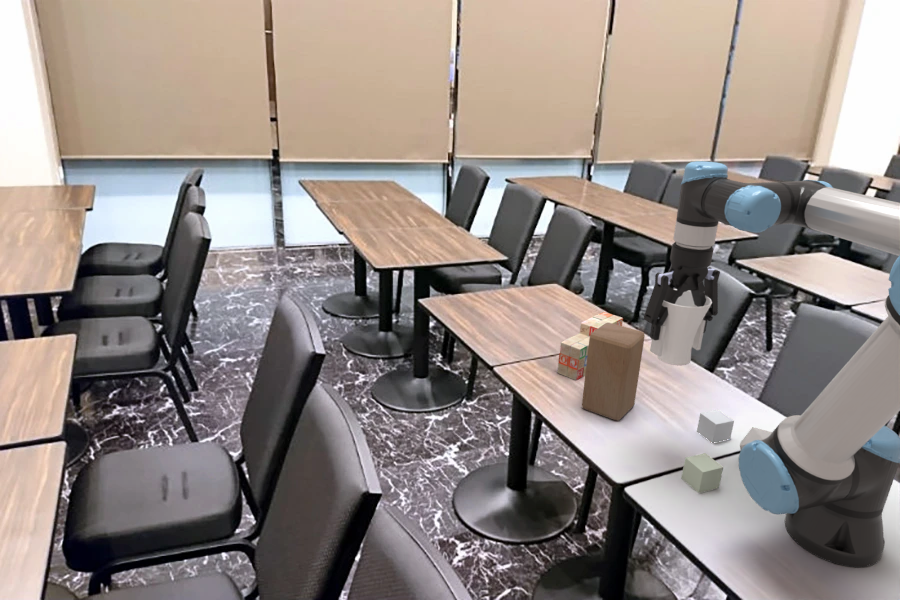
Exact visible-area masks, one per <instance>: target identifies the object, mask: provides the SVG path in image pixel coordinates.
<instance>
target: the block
mask: <svg viewBox="0 0 900 600" xmlns="http://www.w3.org/2000/svg"><path fill="white" fill-rule="evenodd" d="M645 336H646V335H645V332H643V331H641V330H637V329H634V328H630V327H626V326H623V325H622V326H620V325H616V324H612V323H605V324H604V325H602V326H601V327H599V328H598V329H597V330H595V331H594V332H592V333H591V335H590V339H589V347H588V356H587V364H586V373H585V376H584V382H583V389H582V390H583V391H582V398H581V399H582V400H581V408H582V409H584V410H586V411H589V412H591V413H595V414H597V415H600V416H603V417H605V418H609V419H611V420H613V421H620V420H622V418H623V417H624V416H625V415H627V413H629V411H630V410H631V409H632V408H633V407H634V406H635V403H636V396H637V395H636V394H637V389H638V383H639V376H640V370H641V369H640V368H641V363H642V356H643V351H644V341H645V338H646V337H645Z"/></svg>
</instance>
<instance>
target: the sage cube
mask: <svg viewBox="0 0 900 600" xmlns="http://www.w3.org/2000/svg"><path fill="white" fill-rule="evenodd" d="M723 469H724V466H723V465H721V464H720V463H719V462H718V461H716V460H715V459H714V458H712V457H711V456H710V455H709V454H707V453H706V452H705V453H699V454H695V455H692V456H691V455H690V456H687V457H684V464H683V468H682V472H681V479H682V481H684V482H685V483H686V484H687V485H688V486H689V487H691V489H693V490H694V491H696V493H698V494H702V493H705V492H709V491H712V490H716V489H719V488H720V484H721V480H722V475H723V471H724V470H723Z"/></svg>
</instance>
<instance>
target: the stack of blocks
mask: <svg viewBox="0 0 900 600" xmlns="http://www.w3.org/2000/svg"><path fill="white" fill-rule="evenodd" d="M623 320H624V318H623V317H621V316H619V315H615V314H612V313H608V312H606V311H605V312H604V311H603V312H601V313H599V314H596V315H593V316H592V317H589V318H588V319H586V320H584V321H582V322H580V324H579V325H580V326H579V332H578V333H576V334H575V335H573V336H569V337H568V338H567V339H565V340H563V341H561V342H560V346H559V353H558V363H557V373H558V374H560V375H562V376H565V377H567V378H569V379H571V380H574V381H578V380H579V379H580V380H581V378H583V377H584V378H585V373H586V364H587V356H588V347H589V339H590V335H591V333H592V332H594V331H595V330H597V329H598V328H599V327H601V326H602V325H604V324H605V323H612V324H616V325H620V326H623Z"/></svg>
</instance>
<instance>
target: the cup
mask: <svg viewBox="0 0 900 600" xmlns="http://www.w3.org/2000/svg"><path fill="white" fill-rule="evenodd" d="M673 289H674V290H677V289H675V288H673ZM705 298H706V302H705V304H704V306H700V307H697V306H696V305H695V304H694V301H693V297H692V293H691V290H688V291H686V292H683V294H682V296H680V297H678V299H677V301H676V303H675V304H672V303H669V302H667V301H663V304H662V306H664V307H668V317H667V318H666V320H665V322H664V323H663V325H665V326H666V331H665V337H664V344H663V350H662V356H657V355H656V356H657V359H658V360H659V361H661V362H663V363H665V364H667V365H672V366H677V367H678V366H686V365H689V364H690V363H691V359H692V349H693V348H692V345H693V341H694V337H695V335H696V332H697V330H698V327H699V325H700V324H701V322H702V320H703V318H704V316H705V314H706V313H707V311H708V309H709V307H710V306H711V304H712V300H711V299H710V298H709V297H707V296H706V295H705Z"/></svg>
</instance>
